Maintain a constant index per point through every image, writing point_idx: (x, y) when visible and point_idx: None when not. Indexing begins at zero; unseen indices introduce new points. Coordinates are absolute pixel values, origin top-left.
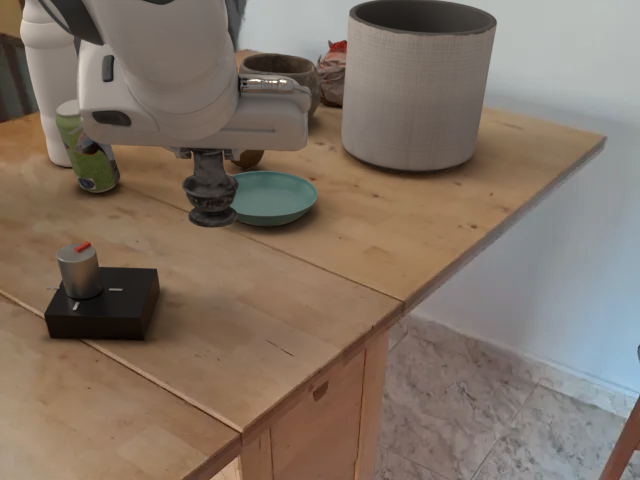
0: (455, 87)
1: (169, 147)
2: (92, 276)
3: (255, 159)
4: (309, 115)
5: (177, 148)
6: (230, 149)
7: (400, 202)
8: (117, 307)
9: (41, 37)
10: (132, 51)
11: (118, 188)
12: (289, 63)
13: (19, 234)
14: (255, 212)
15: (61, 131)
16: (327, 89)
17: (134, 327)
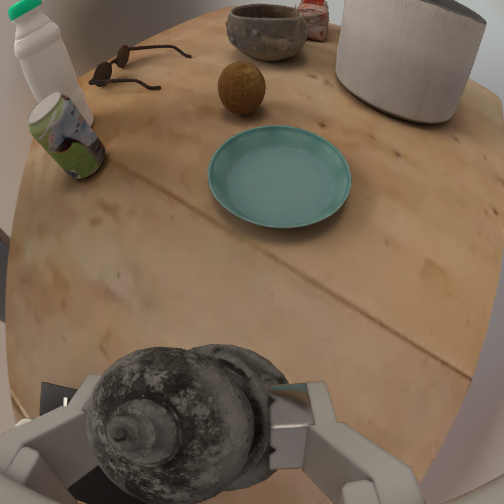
0: (467, 60)
1: (69, 485)
2: None
3: (255, 106)
4: (298, 50)
5: (94, 458)
6: (298, 458)
7: (424, 166)
8: (111, 493)
9: (24, 48)
10: None
11: (105, 164)
12: (273, 10)
13: (14, 267)
14: (268, 196)
15: (34, 137)
16: None
17: None
